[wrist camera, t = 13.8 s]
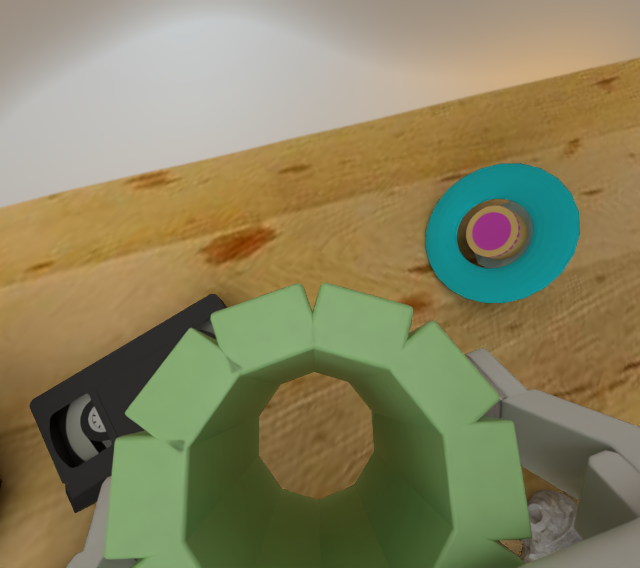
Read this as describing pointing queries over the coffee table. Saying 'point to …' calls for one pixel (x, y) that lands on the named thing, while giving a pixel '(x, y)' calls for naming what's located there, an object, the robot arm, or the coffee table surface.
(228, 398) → the green hollow cylinder
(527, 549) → the grey tapered oval piece
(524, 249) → the ornament
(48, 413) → the vhs tape
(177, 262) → the coffee table surface
